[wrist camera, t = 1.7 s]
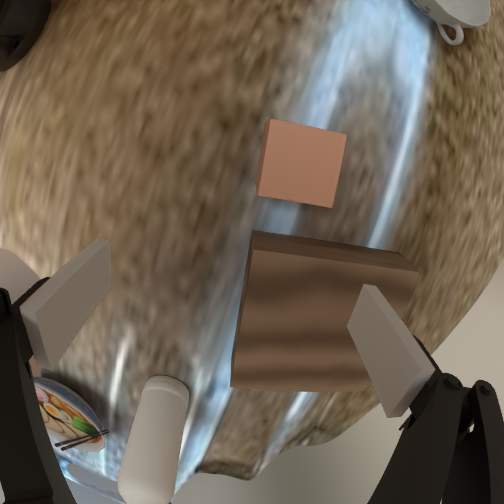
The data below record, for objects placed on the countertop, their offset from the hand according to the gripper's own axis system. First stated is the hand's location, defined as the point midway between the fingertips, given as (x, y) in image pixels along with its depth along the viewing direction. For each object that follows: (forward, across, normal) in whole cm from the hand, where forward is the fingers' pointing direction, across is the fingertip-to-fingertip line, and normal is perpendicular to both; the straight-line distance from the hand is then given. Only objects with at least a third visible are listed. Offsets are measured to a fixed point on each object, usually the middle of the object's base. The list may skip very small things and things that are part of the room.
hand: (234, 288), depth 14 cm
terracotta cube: (+20, +5, +6) cm, 22 cm away
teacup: (+20, +19, +33) cm, 43 cm away
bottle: (+21, -7, -34) cm, 40 cm away
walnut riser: (+20, +12, -13) cm, 27 cm away
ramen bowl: (+21, -30, -46) cm, 59 cm away
